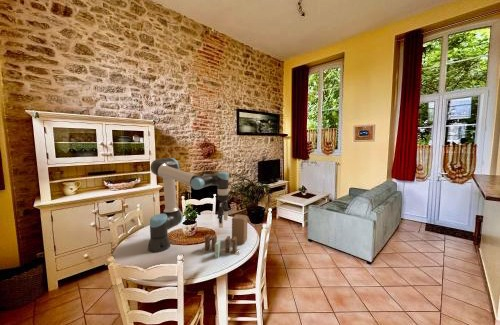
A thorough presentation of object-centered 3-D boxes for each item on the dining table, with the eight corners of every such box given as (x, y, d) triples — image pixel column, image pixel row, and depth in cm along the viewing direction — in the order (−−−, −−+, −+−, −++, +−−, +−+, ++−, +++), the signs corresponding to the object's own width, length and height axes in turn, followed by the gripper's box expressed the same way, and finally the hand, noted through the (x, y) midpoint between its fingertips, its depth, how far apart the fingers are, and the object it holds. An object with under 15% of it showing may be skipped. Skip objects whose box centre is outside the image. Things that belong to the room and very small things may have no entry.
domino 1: (205, 250, 150) (204, 237, 149) (207, 247, 155) (207, 234, 154) (207, 251, 150) (207, 237, 149) (210, 247, 155) (210, 234, 154)
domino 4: (232, 253, 147) (232, 239, 146) (234, 249, 152) (234, 236, 151) (235, 253, 147) (235, 239, 146) (236, 250, 152) (236, 236, 151)
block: (247, 239, 170) (247, 215, 168) (243, 245, 160) (244, 219, 158) (235, 237, 172) (235, 213, 170) (231, 243, 163) (231, 218, 161)
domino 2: (211, 251, 149) (211, 237, 148) (214, 247, 154) (214, 234, 153) (214, 251, 149) (214, 238, 148) (216, 248, 154) (216, 235, 153)
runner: (200, 251, 149) (200, 251, 149) (204, 246, 157) (204, 246, 157) (238, 255, 145) (238, 255, 145) (241, 249, 153) (241, 249, 153)
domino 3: (225, 252, 148) (225, 239, 147) (227, 249, 153) (227, 235, 152) (228, 253, 147) (228, 239, 147) (230, 249, 152) (230, 236, 151)
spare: (215, 258, 141) (215, 244, 140) (217, 254, 146) (217, 240, 145) (218, 258, 141) (217, 244, 140) (220, 254, 146) (220, 240, 145)
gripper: (223, 199, 134) (224, 231, 136) (232, 190, 159) (232, 217, 161) (212, 198, 135) (212, 230, 137) (222, 190, 160) (222, 217, 162)
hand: (223, 223), depth 149 cm, fingers open, 13 cm apart
